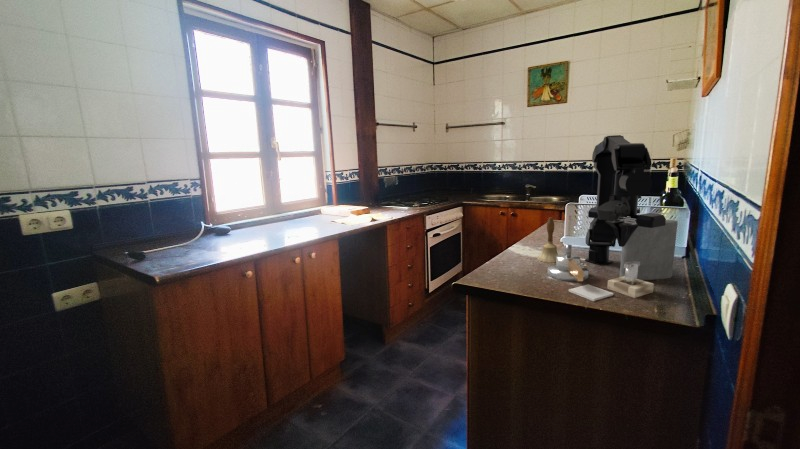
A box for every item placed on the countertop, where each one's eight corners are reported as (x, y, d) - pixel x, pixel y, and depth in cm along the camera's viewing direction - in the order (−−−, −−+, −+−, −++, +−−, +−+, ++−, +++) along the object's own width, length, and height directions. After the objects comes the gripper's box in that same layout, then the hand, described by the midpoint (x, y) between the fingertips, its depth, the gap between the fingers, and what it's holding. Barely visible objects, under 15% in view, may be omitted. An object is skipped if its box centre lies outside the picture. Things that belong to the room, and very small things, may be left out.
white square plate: (587, 286, 108) (588, 284, 108) (613, 295, 101) (613, 293, 101) (568, 291, 105) (568, 289, 105) (593, 301, 98) (593, 299, 98)
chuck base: (565, 266, 126) (565, 261, 126) (596, 276, 116) (597, 270, 115) (539, 272, 121) (539, 267, 121) (569, 283, 111) (569, 277, 110)
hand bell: (563, 263, 130) (566, 219, 127) (539, 262, 132) (540, 219, 129) (558, 256, 138) (560, 215, 135) (535, 256, 140) (537, 215, 137)
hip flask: (666, 274, 116) (673, 211, 112) (676, 278, 112) (683, 214, 108) (617, 276, 115) (622, 214, 111) (625, 281, 111) (631, 216, 107)
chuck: (553, 264, 122) (554, 242, 121) (576, 264, 121) (577, 242, 119) (567, 283, 105) (568, 257, 104) (593, 283, 104) (594, 257, 102)
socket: (625, 283, 109) (626, 275, 109) (653, 292, 102) (653, 283, 102) (607, 288, 106) (607, 280, 106) (634, 297, 99) (635, 289, 98)
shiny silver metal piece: (630, 287, 106) (632, 260, 105) (640, 290, 104) (643, 262, 102) (618, 290, 104) (621, 262, 103) (629, 293, 102) (631, 265, 100)
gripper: (575, 190, 104) (573, 243, 108) (640, 197, 88) (635, 259, 91) (603, 187, 109) (599, 238, 112) (670, 193, 92) (663, 252, 95)
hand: (621, 246), depth 102 cm, fingers closed
